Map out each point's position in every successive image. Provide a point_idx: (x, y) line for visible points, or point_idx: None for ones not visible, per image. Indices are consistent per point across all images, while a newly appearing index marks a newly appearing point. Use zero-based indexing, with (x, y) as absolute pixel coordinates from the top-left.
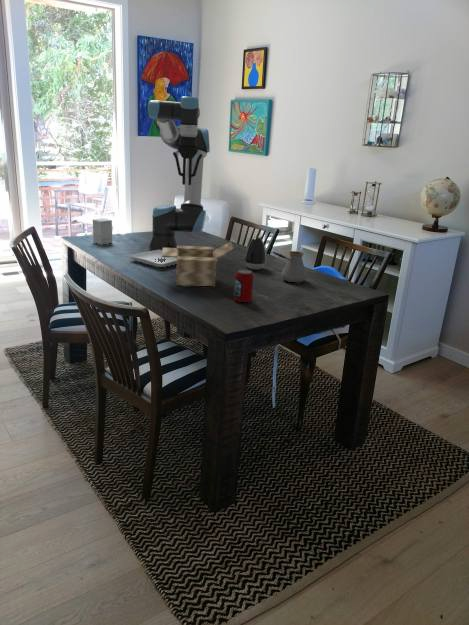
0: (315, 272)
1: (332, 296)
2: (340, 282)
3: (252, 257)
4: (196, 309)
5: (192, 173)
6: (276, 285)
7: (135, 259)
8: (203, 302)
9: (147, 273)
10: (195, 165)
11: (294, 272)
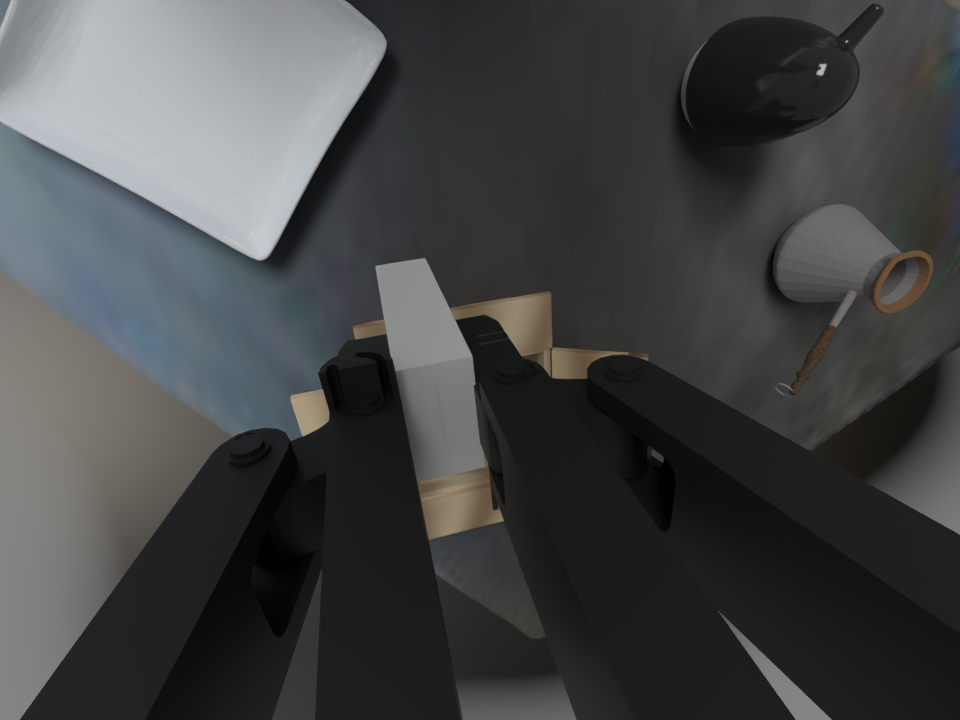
0: (947, 89)
1: (843, 376)
2: (953, 220)
3: (727, 142)
4: (471, 571)
5: (593, 423)
6: (724, 321)
7: (52, 136)
8: (486, 527)
9: (223, 317)
10: (788, 670)
11: (820, 301)
